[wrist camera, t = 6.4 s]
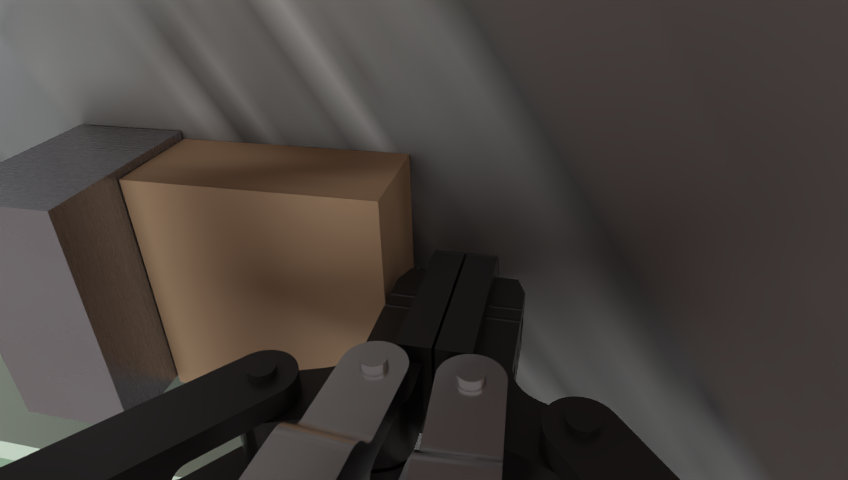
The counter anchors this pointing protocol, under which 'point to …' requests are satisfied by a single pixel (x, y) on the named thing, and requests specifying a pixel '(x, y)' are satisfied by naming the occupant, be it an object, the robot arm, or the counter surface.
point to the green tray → (60, 428)
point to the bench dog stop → (79, 276)
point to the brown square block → (269, 247)
